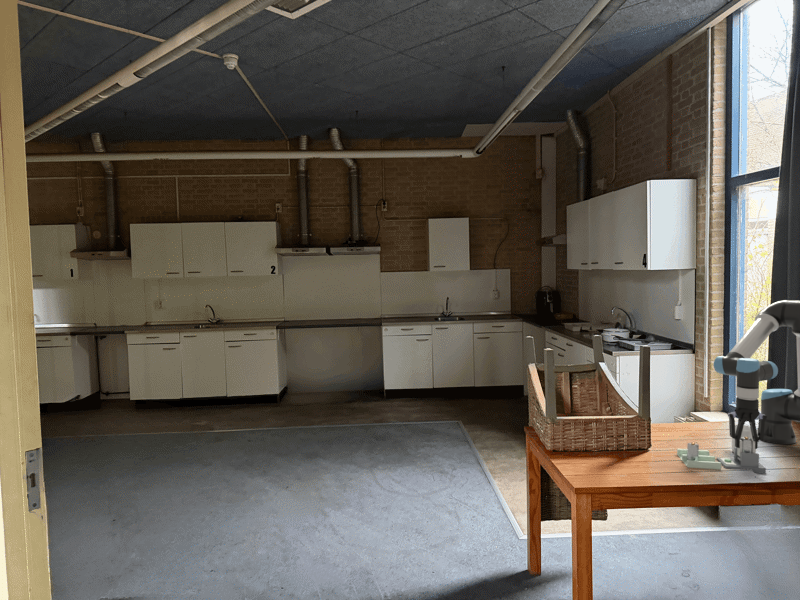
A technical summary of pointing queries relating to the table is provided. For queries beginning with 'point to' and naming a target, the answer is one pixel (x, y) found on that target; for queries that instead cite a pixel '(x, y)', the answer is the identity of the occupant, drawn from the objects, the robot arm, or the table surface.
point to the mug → (743, 434)
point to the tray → (703, 462)
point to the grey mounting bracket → (743, 462)
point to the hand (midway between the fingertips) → (745, 456)
